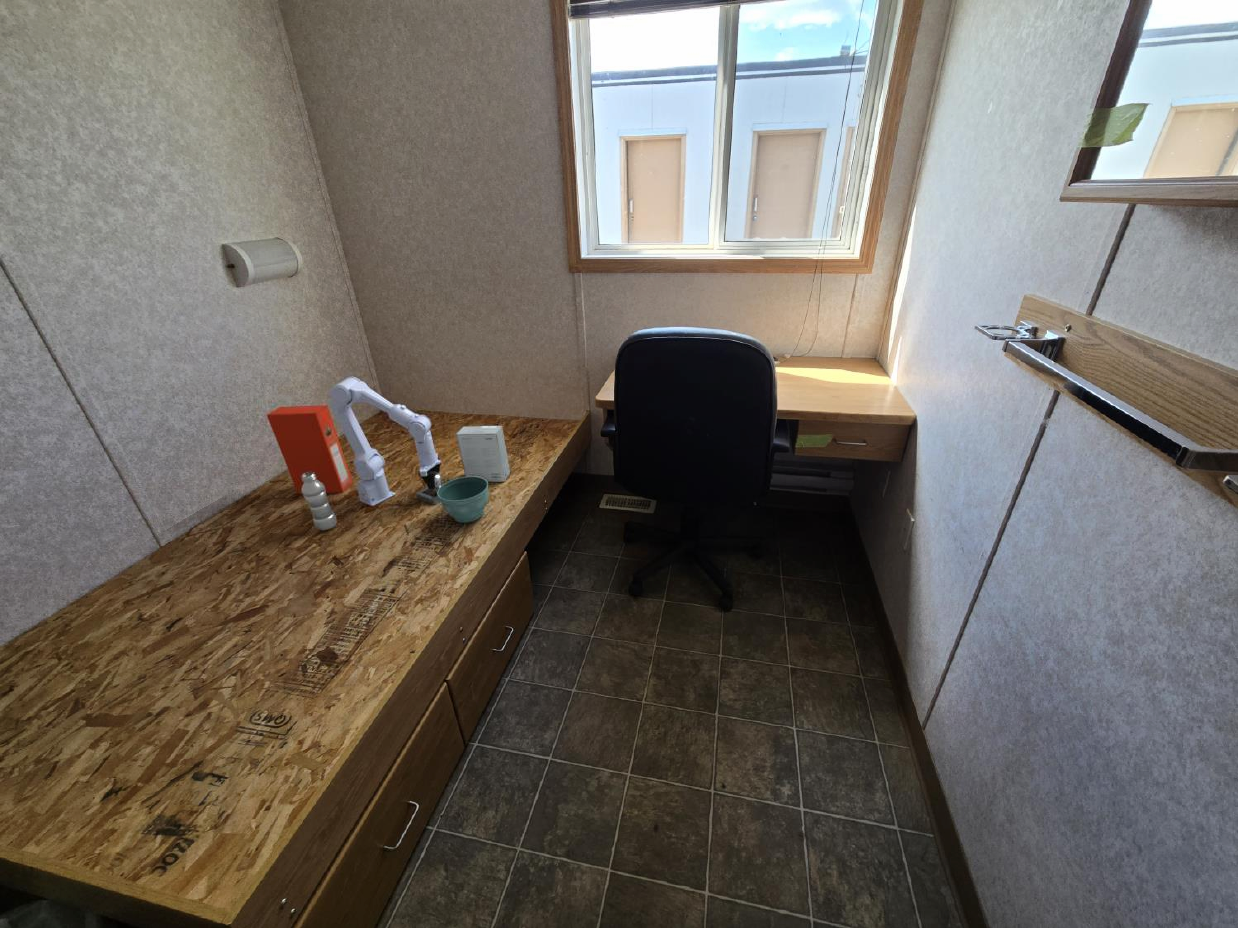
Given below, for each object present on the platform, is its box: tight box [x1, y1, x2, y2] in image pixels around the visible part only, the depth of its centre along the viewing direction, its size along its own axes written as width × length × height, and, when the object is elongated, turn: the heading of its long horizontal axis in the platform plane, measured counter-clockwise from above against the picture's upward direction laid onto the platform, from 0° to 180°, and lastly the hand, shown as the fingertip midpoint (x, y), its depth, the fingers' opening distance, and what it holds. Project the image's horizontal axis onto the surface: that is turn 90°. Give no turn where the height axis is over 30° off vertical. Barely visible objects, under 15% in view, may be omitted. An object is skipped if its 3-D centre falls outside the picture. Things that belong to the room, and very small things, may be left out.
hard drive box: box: [455, 425, 511, 483], centre depth 188 cm, size 16×8×20 cm, turn 84°
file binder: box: [266, 404, 354, 495], centre depth 183 cm, size 8×17×32 cm, turn 89°
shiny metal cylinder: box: [429, 472, 444, 494], centre depth 180 cm, size 5×5×6 cm
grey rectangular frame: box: [414, 482, 445, 506], centre depth 182 cm, size 10×10×2 cm
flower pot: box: [436, 476, 489, 524], centre depth 167 cm, size 16×16×11 cm
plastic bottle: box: [302, 472, 338, 531], centre depth 162 cm, size 6×7×20 cm
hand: (434, 484), depth 180 cm, fingers closed on shiny metal cylinder, 5 cm apart
